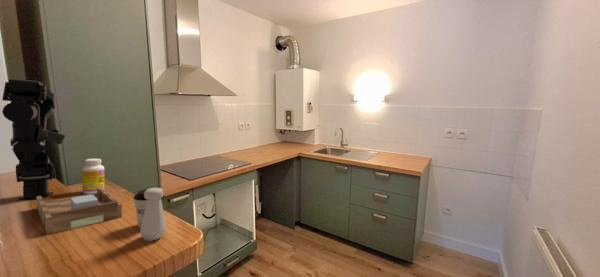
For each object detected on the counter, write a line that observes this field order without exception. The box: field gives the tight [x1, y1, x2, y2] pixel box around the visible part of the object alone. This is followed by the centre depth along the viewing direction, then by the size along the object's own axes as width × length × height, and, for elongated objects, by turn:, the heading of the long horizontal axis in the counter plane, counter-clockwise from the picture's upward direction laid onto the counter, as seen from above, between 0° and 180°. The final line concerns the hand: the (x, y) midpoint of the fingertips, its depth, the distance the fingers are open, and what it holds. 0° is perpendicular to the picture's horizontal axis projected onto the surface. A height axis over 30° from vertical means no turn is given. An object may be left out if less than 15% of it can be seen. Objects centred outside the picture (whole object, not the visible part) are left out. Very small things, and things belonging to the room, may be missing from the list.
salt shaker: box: [139, 187, 167, 242], centre depth 64 cm, size 6×6×13 cm
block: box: [71, 194, 98, 210], centre depth 71 cm, size 6×5×4 cm
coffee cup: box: [133, 188, 148, 229], centre depth 71 cm, size 7×7×10 cm
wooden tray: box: [35, 187, 123, 235], centre depth 76 cm, size 24×16×5 cm, turn 51°
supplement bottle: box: [81, 158, 105, 195], centre depth 96 cm, size 7×7×13 cm
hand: (27, 171), depth 76 cm, fingers closed
